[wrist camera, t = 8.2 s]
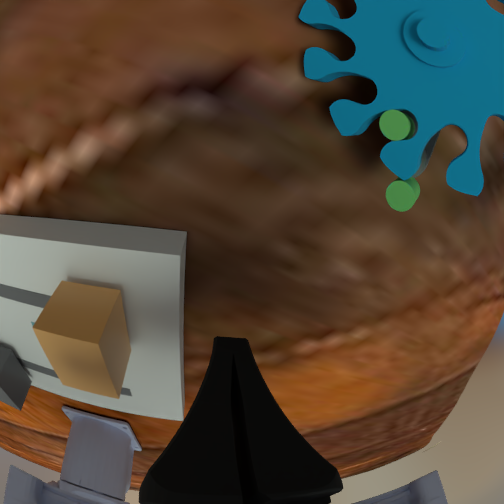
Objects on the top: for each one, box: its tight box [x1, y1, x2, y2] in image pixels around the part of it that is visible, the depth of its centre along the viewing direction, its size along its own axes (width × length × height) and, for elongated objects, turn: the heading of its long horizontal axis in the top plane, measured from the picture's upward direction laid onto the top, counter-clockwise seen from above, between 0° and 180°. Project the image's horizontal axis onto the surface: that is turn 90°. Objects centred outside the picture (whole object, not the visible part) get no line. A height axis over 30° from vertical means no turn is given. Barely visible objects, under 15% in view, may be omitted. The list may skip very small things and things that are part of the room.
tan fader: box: [32, 281, 131, 399], centre depth 10 cm, size 4×3×3 cm
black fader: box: [0, 346, 32, 410], centre depth 12 cm, size 4×3×3 cm
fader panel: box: [0, 214, 187, 421], centre depth 13 cm, size 15×22×2 cm
